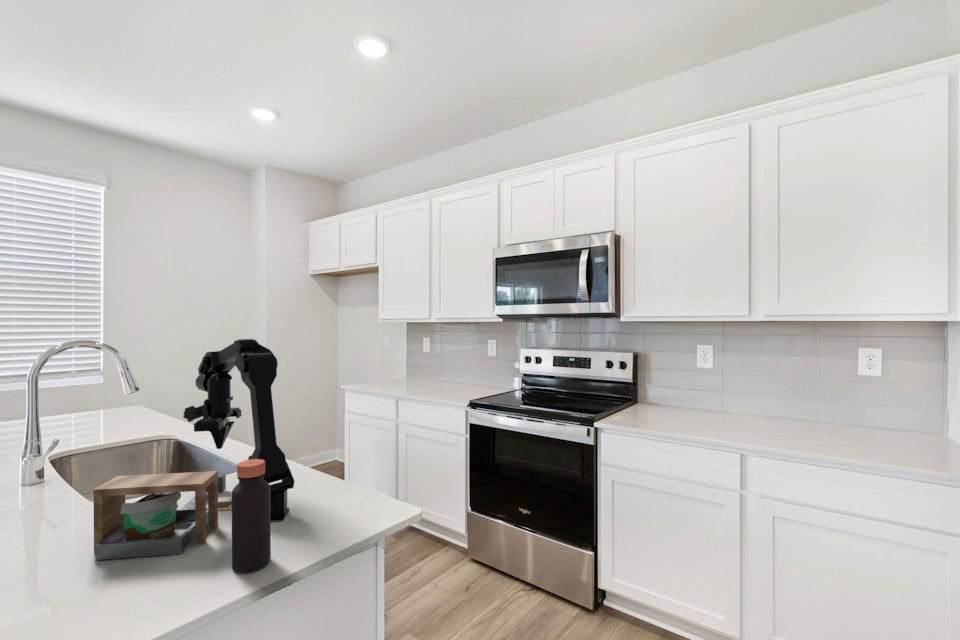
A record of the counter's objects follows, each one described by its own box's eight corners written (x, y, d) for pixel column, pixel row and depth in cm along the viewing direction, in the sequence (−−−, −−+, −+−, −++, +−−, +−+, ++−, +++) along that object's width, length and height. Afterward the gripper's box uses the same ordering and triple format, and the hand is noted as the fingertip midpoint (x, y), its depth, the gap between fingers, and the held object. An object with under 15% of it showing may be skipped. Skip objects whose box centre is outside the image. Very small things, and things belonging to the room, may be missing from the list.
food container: (145, 555, 92) (144, 506, 92) (120, 552, 94) (120, 503, 94) (194, 527, 104) (194, 484, 104) (172, 525, 106) (171, 482, 106)
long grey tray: (242, 487, 128) (242, 473, 128) (181, 553, 93) (181, 533, 93) (181, 491, 125) (181, 477, 125) (95, 560, 90) (95, 539, 90)
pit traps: (236, 502, 119) (236, 500, 119) (229, 510, 114) (229, 508, 114) (156, 507, 116) (156, 505, 116) (145, 515, 111) (145, 513, 111)
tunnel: (218, 527, 105) (217, 471, 105) (203, 544, 97) (202, 483, 97) (117, 534, 101) (117, 476, 101) (93, 552, 93) (93, 489, 93)
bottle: (246, 554, 93) (246, 456, 93) (277, 556, 92) (277, 458, 92) (223, 572, 86) (223, 467, 86) (256, 575, 85) (256, 469, 85)
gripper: (202, 390, 139) (203, 441, 139) (172, 401, 121) (172, 460, 121) (241, 389, 141) (242, 439, 141) (217, 400, 123) (218, 457, 123)
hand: (219, 448), depth 131 cm, fingers closed
